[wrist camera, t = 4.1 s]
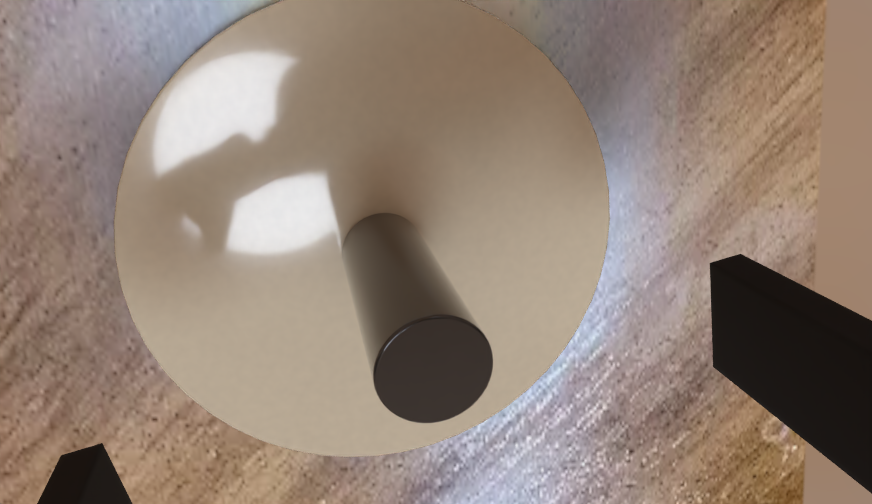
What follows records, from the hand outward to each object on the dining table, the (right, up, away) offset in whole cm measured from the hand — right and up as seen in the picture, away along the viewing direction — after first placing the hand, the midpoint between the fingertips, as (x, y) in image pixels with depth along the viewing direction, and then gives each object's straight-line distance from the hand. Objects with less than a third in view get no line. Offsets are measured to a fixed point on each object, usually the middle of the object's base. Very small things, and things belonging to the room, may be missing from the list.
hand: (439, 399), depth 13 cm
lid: (-2, +3, +9) cm, 10 cm away
